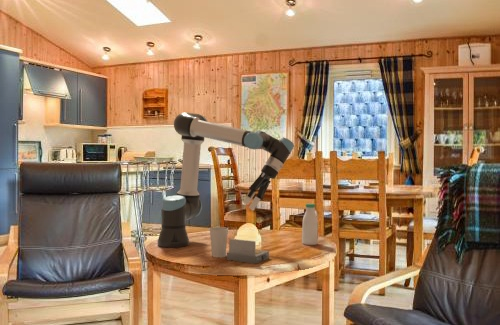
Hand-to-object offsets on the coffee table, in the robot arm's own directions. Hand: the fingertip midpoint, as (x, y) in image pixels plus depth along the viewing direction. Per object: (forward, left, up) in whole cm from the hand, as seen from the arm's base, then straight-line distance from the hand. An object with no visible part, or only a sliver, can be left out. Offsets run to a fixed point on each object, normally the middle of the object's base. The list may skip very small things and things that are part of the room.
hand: (248, 206), depth 224 cm
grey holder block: (+9, -16, -20) cm, 27 cm away
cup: (-5, -17, -20) cm, 27 cm away
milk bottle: (+20, +29, -20) cm, 41 cm away
